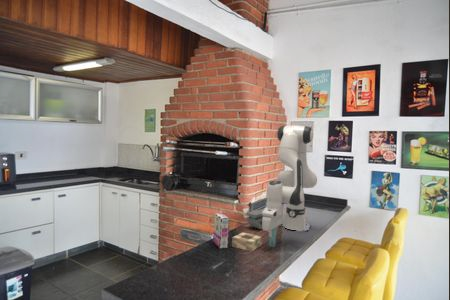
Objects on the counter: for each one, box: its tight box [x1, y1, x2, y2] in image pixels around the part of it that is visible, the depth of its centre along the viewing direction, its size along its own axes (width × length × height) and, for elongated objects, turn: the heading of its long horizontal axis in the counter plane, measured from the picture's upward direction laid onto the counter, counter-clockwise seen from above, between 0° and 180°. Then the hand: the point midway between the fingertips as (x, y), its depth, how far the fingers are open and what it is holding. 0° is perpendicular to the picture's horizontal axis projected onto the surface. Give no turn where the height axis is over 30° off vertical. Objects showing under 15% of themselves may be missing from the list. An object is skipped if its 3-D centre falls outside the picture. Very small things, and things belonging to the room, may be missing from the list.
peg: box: [268, 227, 277, 248], centre depth 164 cm, size 4×4×14 cm
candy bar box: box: [212, 212, 230, 249], centre depth 163 cm, size 11×5×16 cm, turn 21°
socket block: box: [231, 232, 263, 253], centre depth 163 cm, size 12×12×5 cm
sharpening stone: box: [245, 207, 265, 230], centre depth 201 cm, size 25×8×11 cm, turn 138°
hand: (272, 235), depth 164 cm, fingers closed on peg, 4 cm apart
